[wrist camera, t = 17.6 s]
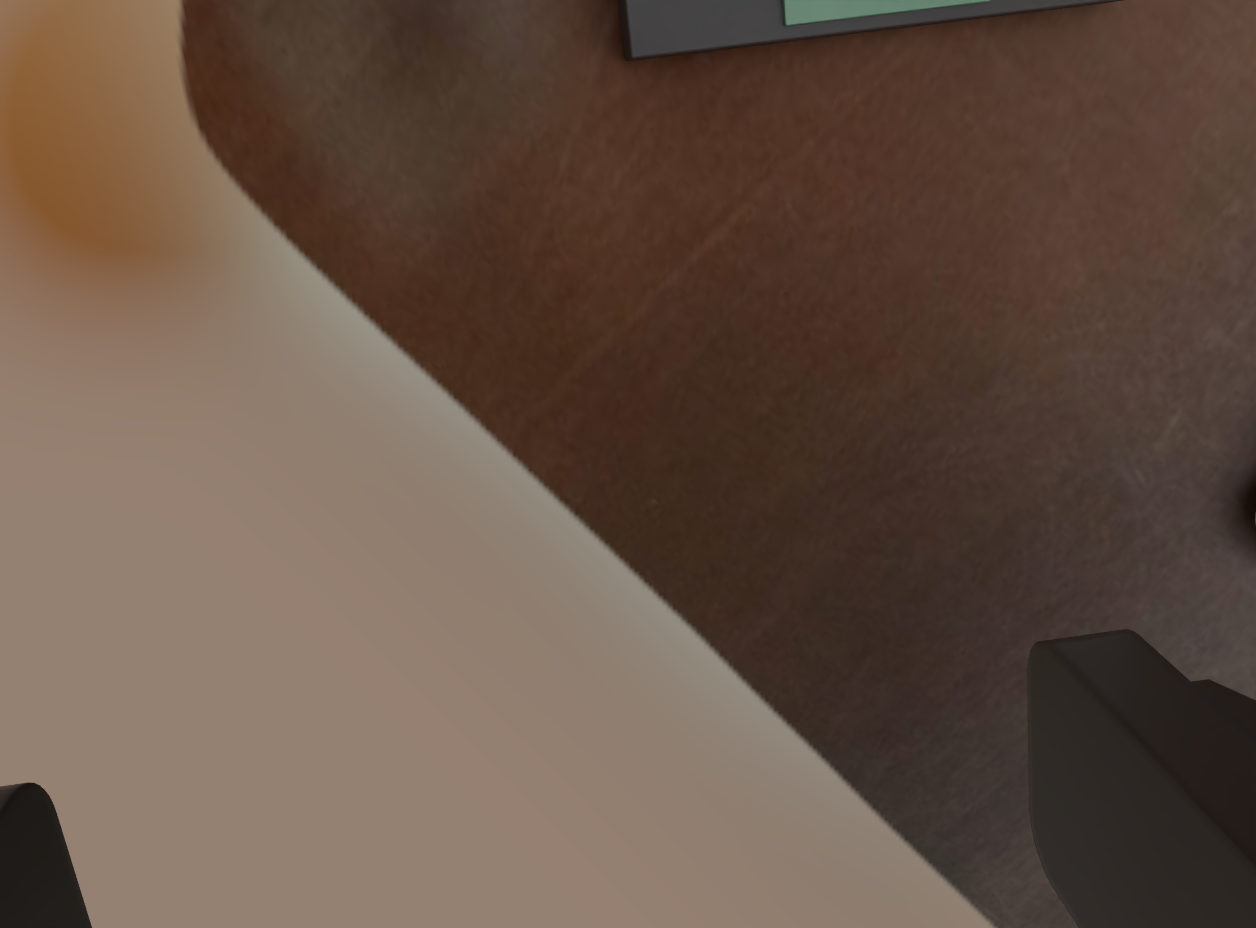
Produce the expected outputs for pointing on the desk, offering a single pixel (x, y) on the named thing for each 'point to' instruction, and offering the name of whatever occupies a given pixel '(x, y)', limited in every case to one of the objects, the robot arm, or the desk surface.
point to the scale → (791, 20)
